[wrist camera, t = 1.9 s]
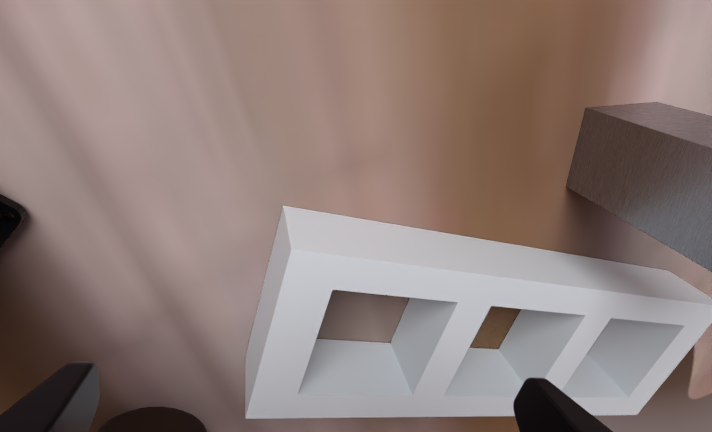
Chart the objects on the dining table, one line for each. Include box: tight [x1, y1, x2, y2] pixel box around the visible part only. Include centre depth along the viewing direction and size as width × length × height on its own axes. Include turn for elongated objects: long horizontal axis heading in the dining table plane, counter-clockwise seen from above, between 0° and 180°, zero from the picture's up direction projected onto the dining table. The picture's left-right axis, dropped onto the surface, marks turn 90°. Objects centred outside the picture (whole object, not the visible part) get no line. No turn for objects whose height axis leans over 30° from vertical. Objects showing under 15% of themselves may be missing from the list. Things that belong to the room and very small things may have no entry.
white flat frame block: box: [245, 206, 712, 419], centre depth 25 cm, size 28×10×4 cm, turn 73°
